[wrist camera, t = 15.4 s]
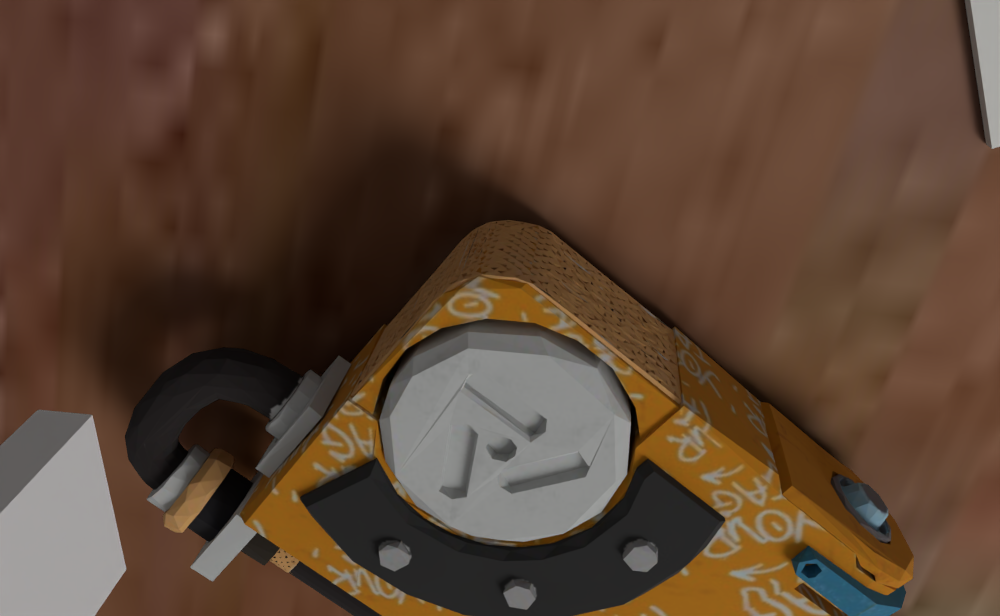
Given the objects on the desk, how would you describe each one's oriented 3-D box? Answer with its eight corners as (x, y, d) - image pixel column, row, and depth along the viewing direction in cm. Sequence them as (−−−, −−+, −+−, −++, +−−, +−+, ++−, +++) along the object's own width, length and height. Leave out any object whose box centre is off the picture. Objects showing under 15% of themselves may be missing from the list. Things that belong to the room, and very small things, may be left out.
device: (580, 860, 42) (43, 520, 37) (585, 715, 50) (139, 412, 44) (973, 623, 33) (335, 114, 27) (908, 487, 40) (395, 63, 34)
